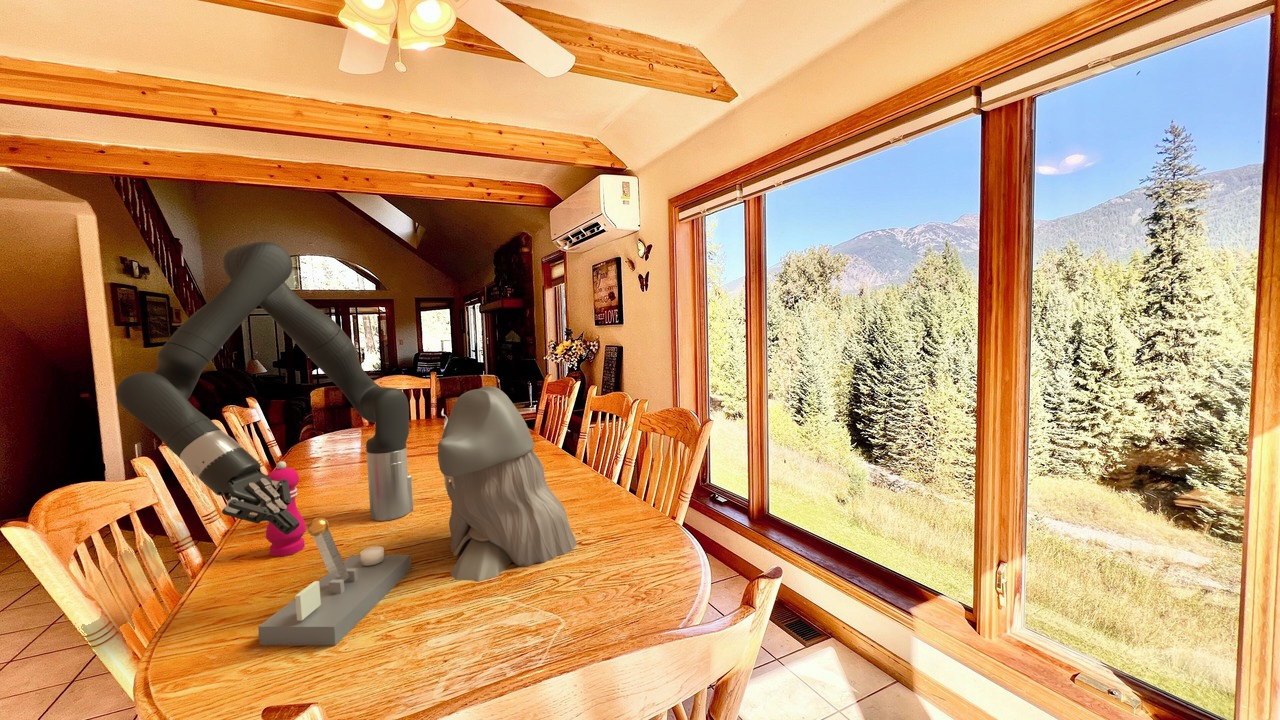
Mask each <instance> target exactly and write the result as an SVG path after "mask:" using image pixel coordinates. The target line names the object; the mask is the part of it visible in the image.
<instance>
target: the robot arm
mask: <svg viewBox="0 0 1280 720" xmlns="http://www.w3.org/2000/svg"><path fill="white" fill-rule="evenodd" d="M222 263H223V264H222V265H223V269H224V272H225V274H226V275H227V277H228V278H229V279H230V281H229V282H228V283H227V285H225V286H224V288H223V289H221V291H219V293H218V294H217V295H215V296H214V297H213V298H212V299H210V300H209V301H207V303H206V304H204V305H203V306H201V308H199V309H198V310H197V311H195V312H193V314H192V315H190V317H188V318H187V319H186V320H185V321H184V322H183V323H182V324H181V325H180V326H179V327H178V328H177V329H176V330H175V331H174V332H173V334H172V335H171V336H170V337H169V338H168V340H166V342H165V344H163V345H162V347H161V348H160V349H159V351H158V352H157V357H156V359H157V363H158V364H157V368H156V370H154V372H149V371H148V372H144V371H143V372H135V373H132V374H130V375H128V376H126V377H124V378H123V379H122V380H121V381H120V382H119V384H118V385H117V388H116V391H115V392H116V393H115V394H116V398H117V402H118V403H119V405H121V406H122V407H123V409H124V410H126V411H127V412H128V413H130V415H132V416H134V417H135V418H136V420H138V421H140V422H141V423H142V424H143V425H144V426H145V427H147V428H148V429H149V430H151V431H152V432H153V433H155V435H156V436H157V437H158V438H159V439H160V440H161V442H162V443H163V444H164V445H165V446H166V447H167V448H168V449H169V450H170V452H172V453H174V455H176V456H177V458H179V459H180V461H182V462H183V463H184V465H185V466H186V468H187V469H188V470H189V471H190V472H191V473H193V474H194V476H196V478H198V479H199V480H200V481H201V482H202V483H203V484H204V485H205V486H206V487H207V488H209V490H211V491H212V492H213V493H214V494H215V495H217V496H219V497H221V496H223V498H224V499H225V500H226V502H227V503H226V505H225V506H224V508H223V509H222V510H221V514H222V515H224V516H228V517H231V518H235V519H240V520H242V521H246V522H250V523H253V524H260V523H261V522H265V523H266V522H267V523H269V522H271V523H272V524H273V525H274V526H275V527H277V529H279V530H280V531H281V532H283V533H284V534H286V535H288V534H290V533H291V532H293V531H295V529H296V528H297V527H298V526H299V522H298V520H297V519H296V518H295V517H294V516H293V515H292V514H291V513H290V512H289V511H288V510H287V506H288V505H289V504H290V503H291V496H290V490H289V485H288V481H287V480H286V479H281V481H280V482H279V481H273V480H271V478H270V477H269V476H268V474H267V475H266V474H265V473H263V472H262V470H261V467H262V466H261V463H260V462H259V460H257V459H255V457H254V456H252V455H251V454H250V453H249V452H248V451H247V450H246V449H244V447H243V446H241V444H239V443H238V441H236V440H235V439H234V438H233V437H231V436H230V435H229V434H227V433H226V432H224V431H223V430H222V429H221V428H220V427H219V426H217V424H215V422H213V421H212V420H211V419H210V418H209V417H208V416H206V415H205V414H204V413H202V412H201V411H199V410H198V409H197V408H196V407H194V405H192V403H191V402H190V401H189V399H190V397H191V395H192V393H193V391H194V390H195V387H196V385H197V383H198V381H199V379H200V376H201V374H202V372H203V371H204V370H205V369H206V368H207V366H208V365H209V364H210V363H211V362H212V360H213V359H214V358H215V356H216V355H217V353H219V351H220V350H221V349H222V348H223V346H224V344H225V343H226V342H228V340H229V338H230V337H231V336H232V335H233V334H234V332H235V331H236V330H237V329H238V328H239V326H241V325H242V323H243V322H244V321H245V320H246V319H247V318H248V317H249V316H250V314H252V313H253V311H255V310H256V308H257V307H258V306H259V307H261V309H263V310H264V311H265V312H266V314H268V315H269V316H270V317H271V318H272V319H273V320H274V322H275V323H277V325H278V326H279V327H280V328H281V329H282V331H284V332H285V333H286V334H287V335H288V336H289V337H290V338H291V340H292V341H293V342H294V343H295V344H296V345H297V346H298V347H299V348H300V350H301V351H302V353H304V354H305V355H306V356H307V357H308V359H310V360H311V362H313V364H315V366H317V367H318V368H319V369H320V370H321V371H322V372H323V374H324V375H326V376H327V377H328V379H329V380H331V382H333V384H334V385H335V386H336V387H338V389H339V390H340V391H341V392H342V394H344V396H345V397H346V399H347V400H348V401H349V403H350V404H351V405H352V407H353V408H354V410H355V411H356V412H357V414H359V416H360V417H361V418H362V419H363V420H365V421H367V422H371V423H374V424H375V425H374V426H375V427H374V430H375V431H374V436H373V437H370V438H368V439H367V440H366V444H365V448H366V450H365V451H366V463H367V464H366V465H367V466H366V467H367V481H368V482H367V483H368V499H369V512H370V519H371V520H373V521H378V522H379V521H380V522H381V521H392V520H396V519H399V518H402V517H405V516H406V515H408V514H409V513H410V512H412V511H414V499H413V496H414V495H413V480H412V478H413V477H412V475H411V474H409V473H408V454H407V440H408V438H409V434H410V408H409V407H410V406H409V401H408V397H407V396H406V394H405V392H404V391H402V390H401V389H399V388H395V387H384V386H380V385H378V383H377V382H375V381H374V380H373V379H372V378H371V377H370V376H369V374H367V372H366V371H365V370H364V368H363V367H362V365H361V363H360V360H359V355H358V352H357V348H356V347H355V345H354V343H353V341H352V340H351V338H350V337H349V336H348V335H347V334H346V332H345V331H344V330H343V329H342V328H341V326H339V324H338V323H337V322H336V321H335V320H333V319H332V318H331V317H330V316H328V315H327V314H326V313H324V312H323V311H322V310H320V309H317V308H316V307H314V306H313V305H312V304H310V303H308V302H306V301H305V300H304V299H302V298H301V297H300V296H298V295H297V293H295V292H294V291H293V290H292V289H291V288H290V287H289V285H288V284H287V283H286V281H287V280H288V279H289V278H290V276H291V274H292V271H293V260H292V258H291V256H290V254H289V253H288V251H287V250H286V249H285V248H284V247H282V246H281V245H279V244H277V243H275V242H270V241H257V242H251V243H247V244H242V245H239V246H238V245H237V246H235V247H233V248H231V249H229V250H228V251H227V252H226V253H225V254H224V256H223V261H222ZM274 504H275V505H276V506H275V505H274Z"/></svg>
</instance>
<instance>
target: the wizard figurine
mask: <svg viewBox="0 0 1280 720" xmlns="http://www.w3.org/2000/svg"><path fill="white" fill-rule="evenodd" d="M440 414H441V417H444V419H443V432H442V433H441V439H440V440H439V442H438V444H437V461H438V467H439V470H440V472H441V474H442V475H443V478H444V486H445V490H446V492H447V495H448V498H449V500H450V502H451V508H450V509H451V512H450V517H449V521H448V528H449V531H450V532H449V533H450V551H451V552H452V553H453V556H455V557H459V558H458V559H457V561H456V562H455V564H454V565H453V567H452V569H451V570H450V576H451V577H452V578H453V579H454V580H456V581H471V582H477V583H479V582H482V581H485V580H486V581H487V580H488V579H489V580H490V579H493V578H497V577H498V576H499V575H500V574H501V573H502V572H503V571H504V570H505V569H506V568H507V567H508V566H509V565H510V564H511V563H512V562H513V563H514V564H515V565H517V566H519V567H531V566H533V565H534V564H545V563H547V562H548V561H551V560H554V559H556V558H557V557H561V556H565V555H567V554H568V553H571V552H574V550H575V548H576V547H577V546H578V541H577V539H576V537H575V535H574V533H573V531H572V529H571V526H570V523H569V518H568V516H567V512H566V509H565V507H564V505H563V504H562V502H561V501H560V500H559V499H558V497H556V495H555V494H554V493H553V490H552V489H550V487H549V485H548V484H547V481H546V476H545V469H544V465H543V463H542V461H541V459H540V458H539V456H538V455H537V454H536V452H535V451H534V448H535V443H534V440H533V437H532V435H531V432H530V429H529V427H528V424H527V423H526V421H525V419H524V418H523V416H522V414H521V413H520V412H519V410H518V408H517V407H516V406H515V404H514V403H513V402H512V400H511V399H510V398H509V396H508V395H507V394H506V393H505V392H504V391H503V390H501V389H500V388H498V387H495V386H491V385H488V386H487V385H485V386H483V387H480V388H477V389H476V388H475V389H471V390H469V391H466V392H464V393H463V394H461V395H460V396H459V397H457V399H456V400H455V402H454V403H453V406H452V408H451V412H450V415H449V416H448V417H447V415H446V414H444V409H442V410H441V412H440Z"/></svg>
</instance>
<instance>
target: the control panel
mask: <svg viewBox="0 0 1280 720" xmlns="http://www.w3.org/2000/svg"><path fill="white" fill-rule="evenodd" d="M411 557H412V556H411V554H384V560H383V561H382V562H380V563H378V564H375V565H369V566H365V565H362V564H361V556H360V554H359V555H358V554H354V555H350V556H348V558H346V559H345V560H343V563H344V565H345V568H346V570H347V572H348V574H349V578H347V579H346V580H345V581H344V580H332V579H331V577H330V574H329V572H327V574H325V575H323V576H322V577H321V578H320V579H319V580H318V581H319V586H320V600H321V605H320V606H319V607H318V608H316V609H315V610H314V611H313V612H312V613H310V614H309V615H308V616H307V617H306V618H304V619H303V620H302V621H297V614H296V600H295V598H294V599H293V600H291V601H290V602H288V603H287V604H286V605H285V606H284V607H282V608H281V609H279V610H278V611H277V612H276V613H275V612H274V614H273V615H271V617H268V618H267V619H266V620H265V621H263V623H260V625H259V626H257V627H258V639H259V640H258V641H259V646H337V645H338V643H340V642H341V641H342V640H343V638H344V637H346V635H348V634H349V633H350V632H351V630H352V629H354V628H355V627H356V626H357V625H358V624H359V623H360V622H361V621H362V620H363V619H364V618H365V616H366V615H368V614H369V613H370V612H371V610H372V609H374V608H375V607H376V606H377V605H378V604H379V603H380V601H382V600H383V598H384V597H385V596H386V595H388V594H389V592H391V591H392V589H393V588H395V586H396V585H398V584H399V582H401V581H402V579H403V578H404V577H406V575H407V574H409V572H410V571H412V561H411V560H412V559H411Z"/></svg>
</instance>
